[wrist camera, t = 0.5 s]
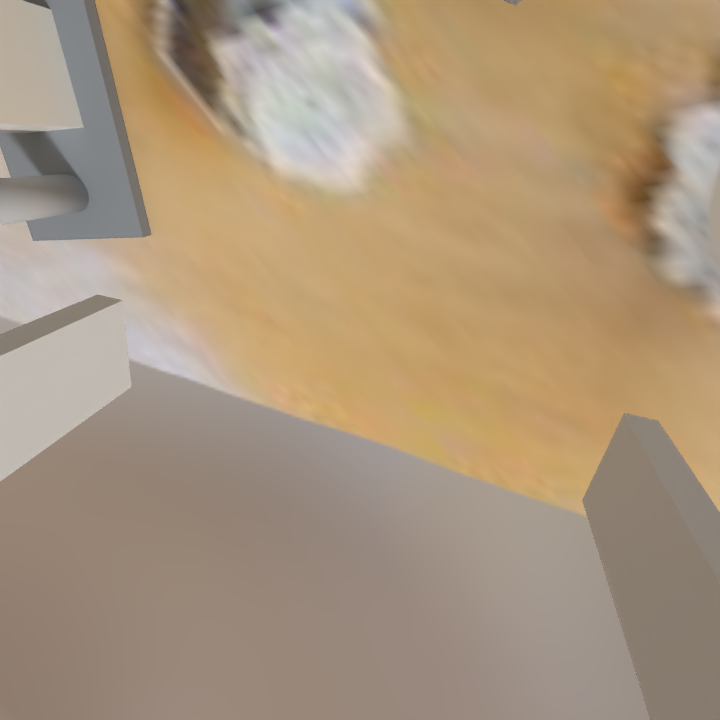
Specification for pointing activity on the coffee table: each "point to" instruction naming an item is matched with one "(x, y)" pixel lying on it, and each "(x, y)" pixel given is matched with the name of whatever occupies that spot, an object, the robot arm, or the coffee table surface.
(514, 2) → the pocket watch
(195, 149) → the coffee table surface
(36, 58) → the white block
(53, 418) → the robot arm
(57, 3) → the gray post stand
